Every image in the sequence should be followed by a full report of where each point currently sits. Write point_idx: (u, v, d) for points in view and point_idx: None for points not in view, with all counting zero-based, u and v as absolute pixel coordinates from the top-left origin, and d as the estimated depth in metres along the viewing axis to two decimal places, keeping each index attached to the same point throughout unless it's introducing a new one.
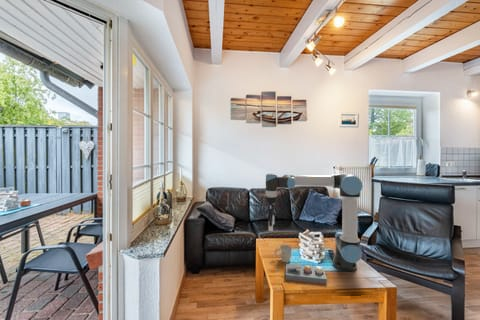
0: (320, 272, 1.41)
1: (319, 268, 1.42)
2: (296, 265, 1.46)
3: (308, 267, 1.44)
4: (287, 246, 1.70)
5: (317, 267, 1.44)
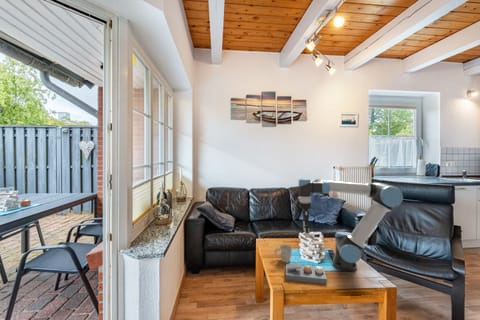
0: (320, 272, 1.41)
1: (319, 268, 1.42)
2: (296, 265, 1.46)
3: (308, 267, 1.44)
4: (287, 246, 1.70)
5: (317, 267, 1.44)
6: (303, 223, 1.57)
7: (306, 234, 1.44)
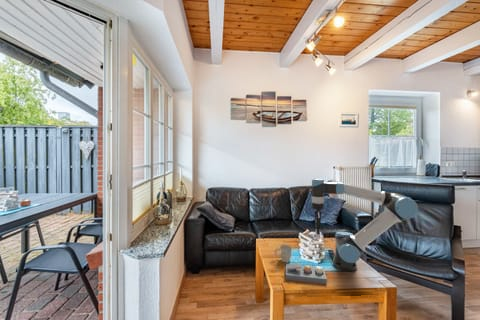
0: (320, 272, 1.41)
1: (319, 268, 1.42)
2: (296, 265, 1.46)
3: (308, 267, 1.44)
4: (287, 246, 1.70)
5: (317, 267, 1.44)
6: (315, 230, 1.51)
7: (317, 235, 1.48)
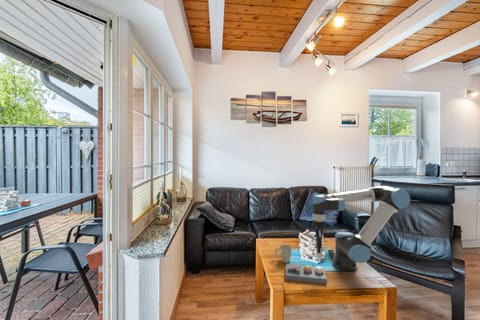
0: (320, 272, 1.41)
1: (319, 268, 1.42)
2: (296, 265, 1.46)
3: (308, 267, 1.44)
4: (287, 246, 1.70)
5: (317, 267, 1.44)
6: None
7: (318, 254, 1.42)
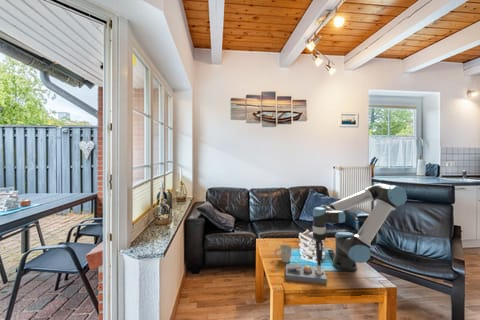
0: (320, 274, 1.41)
1: (319, 270, 1.42)
2: (296, 265, 1.46)
3: (308, 267, 1.44)
4: (287, 246, 1.70)
5: None
6: None
7: (318, 266, 1.43)
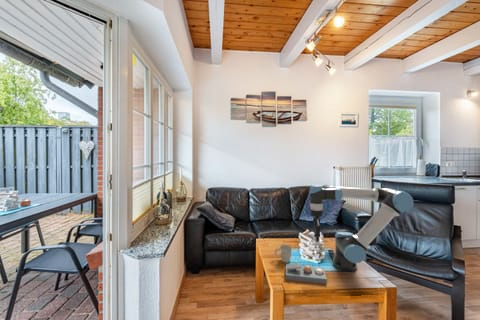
0: (320, 274, 1.41)
1: (319, 270, 1.42)
2: (296, 265, 1.46)
3: (308, 267, 1.44)
4: (287, 246, 1.70)
5: (317, 269, 1.44)
6: None
7: (316, 242, 1.46)
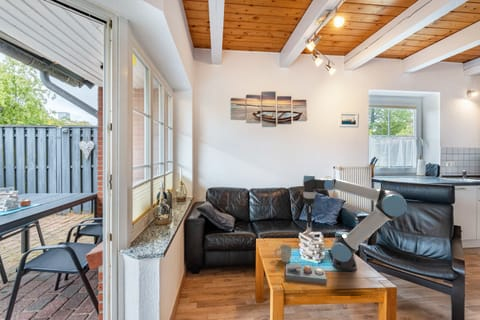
0: (320, 274, 1.41)
1: (319, 270, 1.42)
2: (296, 265, 1.46)
3: (308, 267, 1.44)
4: (287, 246, 1.70)
5: (317, 269, 1.44)
6: (307, 224, 1.57)
7: (308, 228, 1.56)
